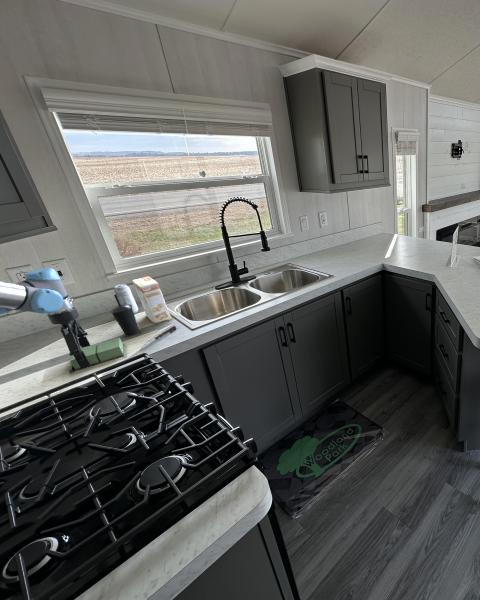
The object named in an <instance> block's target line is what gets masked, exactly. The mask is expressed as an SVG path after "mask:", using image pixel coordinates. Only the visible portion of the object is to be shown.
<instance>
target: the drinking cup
mask: <svg viewBox="0 0 480 600" xmlns="http://www.w3.org/2000/svg"><path fill="white" fill-rule="evenodd" d="M113 297H114V298H115V301H116V303H117V305H116V306H114V307H112V308H111V309H110V310H109V313H110V314H112V316H113V317H114V319H115V321H116V322H117V324H118V326H119V328H120V329H121V330H122V332H123V334H124V335H125V336H126V337H131V336H134V335H137V334H139V333H140V328H139V326H138V323H137V322H138V321H137V319H136V316H135V313H133V309H132V305H130V304H123V305H120V302H119V300H118V298H117V296H116V294H114V295H113Z"/></svg>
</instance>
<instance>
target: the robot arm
mask: <svg viewBox="0 0 480 600" xmlns="http://www.w3.org/2000/svg"><path fill="white" fill-rule="evenodd" d="M73 302H74V299H73V298H70V295H69V293H68V292H67V290H66V287H65V285H64V284H63V282H62V278H61V277H60V276H59V274H58V273H57V271H56V270H55V269H54V268H51V267H43V268H42V267H41V268H37V269H33V270H29V271H27V272H25V273H24V280H22V281H19V282H15V283H14V282H9V281H8V282H7V281H1V280H0V315H3V314H8V313H10V312H12V311H20V312H29V313H36V314H47V315H46V316H47V318H48V320H49V321H50V323H51V324H52V325H61V327H60V333H61V334H62V336H63V339H64V341H65V344H66V346H67V349H68V351H69V354H68V355H69V356H71V357H72V355H74V357H75V359H76V361H77V362H78V364H79V366H80V368H81V369H82V368H85V369H87V368H86V367H89V366H91V365H90V363H89V361H88V359H87V357H86V355H85V354H84V352H83V351H82V350H81V348H84V347H87V346H91V345H92V344H91V343H90V342H89V339H88V338H87V336H89V334H88V332H86V331H85V329H84V328H83V327H82V325H81V323H80V322H79V321H78V320H77V319H78V318H79V317H80V315H79V312H78V310H77V308H76V307H74V303H73ZM89 368H90V367H89ZM82 370H83V369H82Z"/></svg>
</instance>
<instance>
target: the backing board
mask: <svg viewBox="0 0 480 600" xmlns="http://www.w3.org/2000/svg"><path fill="white" fill-rule="evenodd" d="M122 344H123V355H122V356H118V357H115V358H112V359H109V360H105V361H102V362H101V361H100V360H99V362H98V363H95V364H92V365H91V366H89V367H86V368H82V369H81V368H79V369H75V368H74V366H73V365H72V363H71V362H70V363H69V367H68V372H69V374H72V373H76V372H79V371H82V370H85V369H88V368H93V367H95V366H98V365H102V364H105V363H109V362H111V361H115V360H117V359H121V358H124V357H125V343H122Z"/></svg>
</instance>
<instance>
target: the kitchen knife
mask: <svg viewBox="0 0 480 600" xmlns="http://www.w3.org/2000/svg"><path fill="white" fill-rule="evenodd" d="M175 330H177V327H176V325H173V326H171V327H170V328H168V329H166V330H165V331H163V332H162V333H161V334H159V335H157V336H156V337H155V338H152V340H150V341H149V342H147V343H145V344H144V345H143V346H142V347H141V349H144V348H145V347H147V346H148V345H150V344H151V343H152V342H154V341H156V340H158V339H160V338H162V337H163V336H165V335H166V334H168V333H169V334H170V333H172V332H174V331H175Z"/></svg>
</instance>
